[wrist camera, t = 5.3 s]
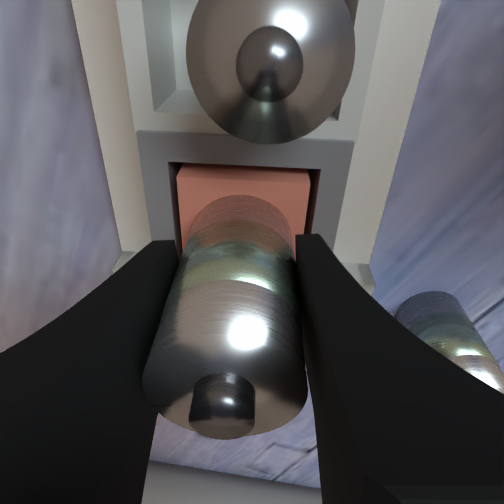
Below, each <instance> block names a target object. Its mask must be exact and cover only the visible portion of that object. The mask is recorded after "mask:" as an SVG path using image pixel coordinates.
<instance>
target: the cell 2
mask: <svg viewBox="0 0 504 504" xmlns="http://www.w3.org/2000/svg"><path fill="white" fill-rule="evenodd" d="M395 319H396V320H397V321H399V322H400V323H401V324H402V325H403V326H404V327H406V328H407V329H408V330H409V331H411V332H412V333H413V334H414V335H416V336H417V337H418V338H420V339H421V340H422V341H424V342H425V343H426V344H428V345H429V346H431V347H432V348H434V349H435V350H436V351H438V352H439V353H441V354H442V355H443V356H445V357H446V358H448V359H449V360H451V361H452V362H453V363H455V364H456V365H458V366H459V367H461V368H463V369H464V370H466V371H467V372H469V373H470V374H472V375H473V376H475V377H477V378H478V379H480V380H482V381H483V382H485V383H486V384H488V385H490V386H491V387H493V388H495V389H496V390H498V391H500V392H501V393H503V394H504V374H503V372H502V371H501V369H500V367H499V365H498V363H497V362H496V360H495V359H494V357H493V355H492V354H491V352H490V351H489V349H488V347H487V346H486V344H485V343H484V341H483V339H482V338H481V336H480V335H479V333H478V331H477V330H476V328H475V327H474V325H473V323H472V322H471V321H470V320H469V318H468V316H467V315H466V313H465V312H464V310H463V308H462V307H461V305H460V303H459V302H458V300H457V299H456V298H455V297H454V296H452V295H450V294H448V293H445V292H440V291H430V292H424V293H420V294H418V295H415V296H413V297H411V298H409V299H408V300H406V301H405V302H404V303H403V304H402V305H401V306H400V307H399V309H398V310H397V313H396V316H395Z"/></svg>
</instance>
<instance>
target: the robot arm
mask: <svg viewBox="0 0 504 504" xmlns="http://www.w3.org/2000/svg"><path fill="white" fill-rule="evenodd" d="M295 258H296V271H297V281H298V290H299V299H300V308H301V318H302V328H303V346H304V356H305V365H306V370H307V376H308V381H309V386H310V392H311V397H312V403H313V410H314V418H315V428H316V439H317V450H318V461H319V472H320V483H321V495H322V504H504V394H503V393H501V392H500V391H498V390H496V389H495V388H493V387H491V386H490V385H488V384H486V383H485V382H483V381H482V380H480V379H478V378H477V377H475V376H473V375H472V374H470V373H469V372H467V371H466V370H464V369H463V368H461V367H459V366H458V365H456V364H455V363H453V362H452V361H451V360H449V359H448V358H446V357H445V356H443V355H442V354H441V353H439V352H438V351H436V350H435V349H434V348H432V347H431V346H429V345H428V344H426V343H425V342H424V341H422V340H421V339H420V338H418V337H417V336H416V335H414V334H413V333H412V332H411V331H409V330H408V329H407V328H406V327H404V326H403V325H402V324H401V323H400V322H399V321H397V320H396V319H395V318H394V317H393V316H392V315H390V314H389V313H388V312H387V311H386V310H385V309H384V308H383V307H382V306H381V305H380V304H379V303H378V302H377V301H376V300H375V299H374V298H373V297H372V296H371V295H370V294H369V293H368V292H367V291H366V290H365V289H364V288H363V287H362V286H361V285H360V284H359V283H358V282H357V281H356V280H355V278H354V277H353V276H352V275H351V274H350V273H349V272H348V270H347V269H346V268H345V267H344V266H343V264H342V263H341V262H340V261H339V259H338V258H337V257H336V256H335V254H334V253H333V252H332V250H331V249H330V248H329V246H328V245H327V243H326V242H325V240H324V239H323V237H322V236H321V235H320V234H296V235H295ZM178 265H179V257H178V253H177V249H176V244H175V240H155V241H152V242H150V243H149V244H148V245H146V246H145V247H144V248H143V249H142V250H140V251H139V252H138V253H137V254H136V255H135V256H133V257H132V258H131V259H130V260H129V261H128V262H127V263H125V264H124V265H123V266H122V267H121V268H120V269H118V270H117V271H116V272H115V273H114V274H113V275H111V276H110V277H109V278H108V279H107V280H106V281H104V282H103V283H102V284H101V285H100V286H98V287H97V288H96V289H94V290H93V291H92V292H91V293H89V294H88V295H87V296H85V297H84V298H83V299H82V300H80V301H79V302H78V303H77V304H75V305H74V306H73V307H71V308H70V309H69V310H67V311H66V312H65V313H63V314H62V315H60V316H59V317H58V318H56V319H55V320H53V321H52V322H50V323H49V324H47V325H46V326H44V327H43V328H41V329H40V330H38V331H37V332H35V333H34V334H32V335H31V336H29V337H27V338H26V339H24V340H22V341H21V342H19V343H17V344H16V345H14V346H12V347H10V348H9V349H7V350H5V351H4V352H2V353H0V504H141V503H142V497H143V491H144V485H145V479H146V473H147V468H148V462H149V456H150V451H151V445H152V440H153V435H154V430H155V425H156V419H157V415H158V411H157V410H155V409H154V408H153V406H152V405H151V404H150V403H149V401H148V400H147V398H146V396H145V394H144V391H143V386H142V376H143V372H144V369H145V366H146V363H147V360H148V357H149V354H150V351H151V348H152V345H153V342H154V339H155V336H156V333H157V330H158V327H159V324H160V320H161V315H162V312H163V309H164V306H165V303H166V300H167V297H168V294H169V291H170V288H171V285H172V282H173V279H174V276H175V273H176V271H177V268H178Z"/></svg>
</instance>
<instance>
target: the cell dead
mask: <svg viewBox="0 0 504 504" xmlns="http://www.w3.org/2000/svg"><path fill="white" fill-rule="evenodd" d="M354 61H355V34H354V28H353V22H352V19H351V16H350V12H349V10H348V7H347V5H346V3H345V1H344V0H199V1H198V3H197V5H196V7H195V9H194V12H193V14H192V17H191V20H190V24H189V28H188V33H187V39H186V64H187V70H188V75H189V79H190V82H191V86H192V88H193V91H194V93H195V95H196V98H197V99H198V101H199V103H200V105H201V106H202V108H203V109H204V111H205V112H206V113H207V115H208V116H209V117H210V118H211V119H212V120H213V121H214V122H215V123H216V124H217V125H218V126H219V127H221V128H222V129H223V130H225V131H226V132H228V133H229V134H231V135H233V136H235V137H237V138H239V139H241V140H244V141H247V142H251V143H256V144H266V145H271V144H281V143H286V142H290V141H293V140H296V139H299V138H301V137H303V136H305V135H307V134H309V133H310V132H312V131H313V130H315V129H316V128H317V127H319V126H320V125H321V124H322V123H323V122H324V121H325V120H326V119H327V118H328V117H329V116H330V115H331V114H332V113H333V111H334V110H335V109H336V107H337V106H338V105H339V103H340V101H341V100H342V98H343V96H344V94H345V92H346V90H347V87H348V85H349V82H350V79H351V76H352V72H353V67H354Z"/></svg>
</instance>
